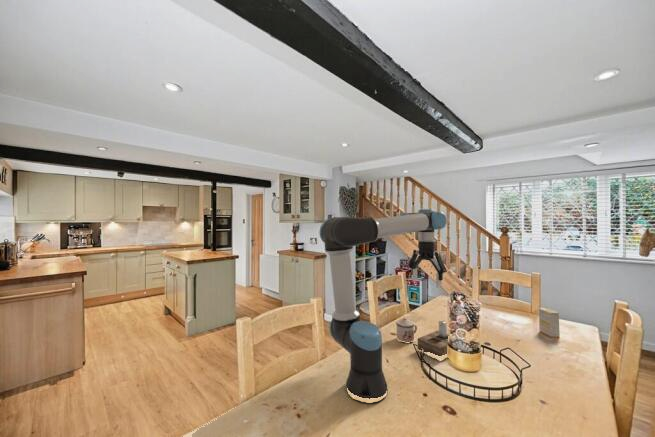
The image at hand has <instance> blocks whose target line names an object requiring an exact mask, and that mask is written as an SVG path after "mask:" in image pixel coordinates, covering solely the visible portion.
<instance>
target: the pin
mask: <svg viewBox="0 0 655 437" xmlns="http://www.w3.org/2000/svg"><path fill="white" fill-rule="evenodd" d="M438 331H439V338H441V339H444V340H446V339H447V334H448V333H447V332H448V331H447V322H446V321H445V320H439V321H438Z"/></svg>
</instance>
